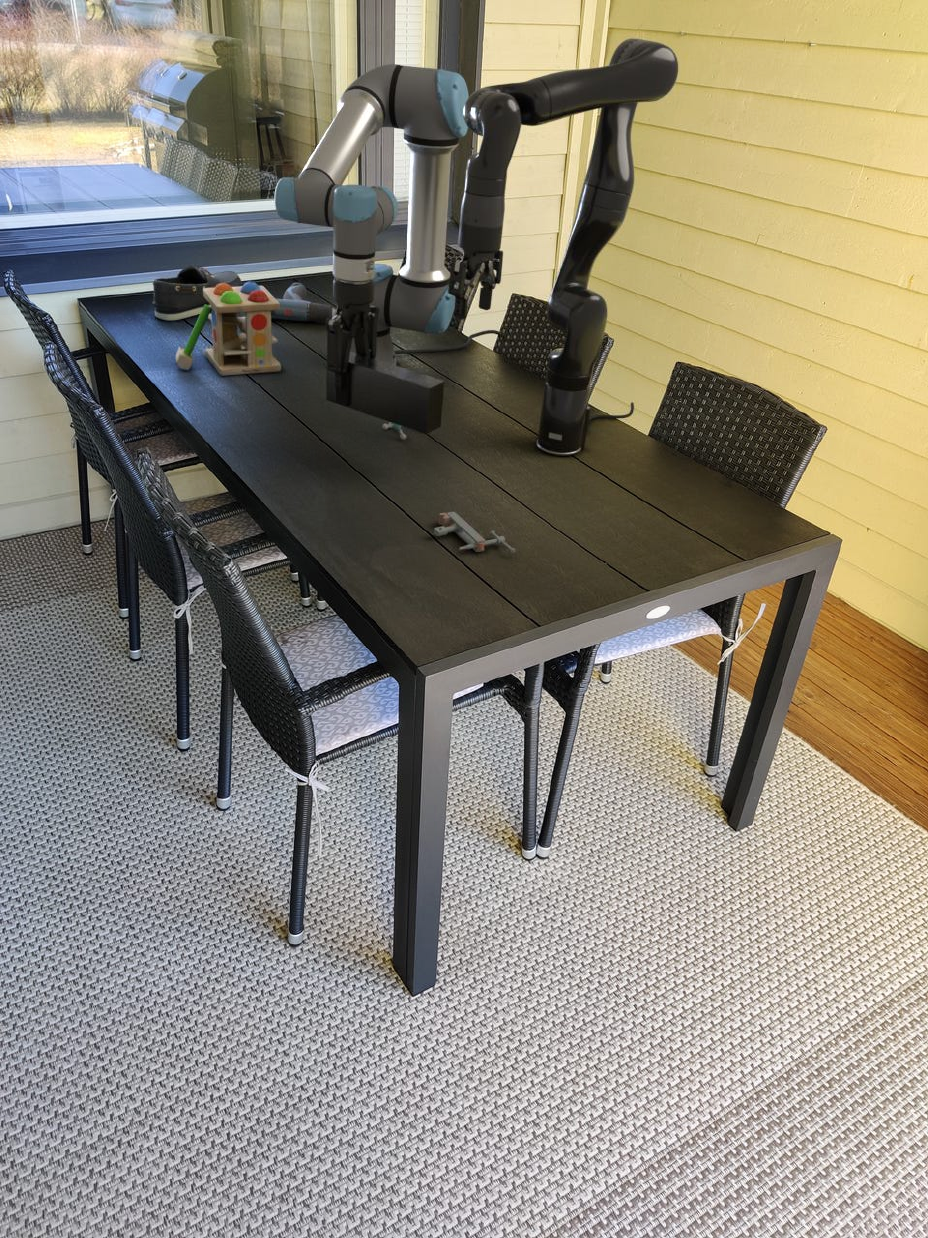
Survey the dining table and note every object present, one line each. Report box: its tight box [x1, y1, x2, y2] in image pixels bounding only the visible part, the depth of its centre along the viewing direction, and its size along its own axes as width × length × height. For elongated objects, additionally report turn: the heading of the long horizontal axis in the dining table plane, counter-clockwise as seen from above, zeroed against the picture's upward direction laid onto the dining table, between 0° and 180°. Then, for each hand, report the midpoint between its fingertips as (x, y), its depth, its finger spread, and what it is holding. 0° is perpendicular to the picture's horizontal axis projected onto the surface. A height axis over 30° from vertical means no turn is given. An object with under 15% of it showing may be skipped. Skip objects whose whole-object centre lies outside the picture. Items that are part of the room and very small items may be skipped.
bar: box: [325, 352, 445, 435], centre depth 186 cm, size 24×5×9 cm, turn 58°
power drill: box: [271, 282, 337, 322], centre depth 265 cm, size 5×19×20 cm
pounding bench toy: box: [174, 281, 282, 377], centre depth 225 cm, size 23×14×18 cm, turn 116°
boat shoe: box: [151, 264, 243, 321], centre depth 263 cm, size 13×33×10 cm, turn 147°
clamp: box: [433, 511, 516, 555], centre depth 170 cm, size 15×2×10 cm
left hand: (351, 399), depth 191 cm, fingers closed on bar, 5 cm apart
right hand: (472, 313), depth 179 cm, fingers open, 8 cm apart
